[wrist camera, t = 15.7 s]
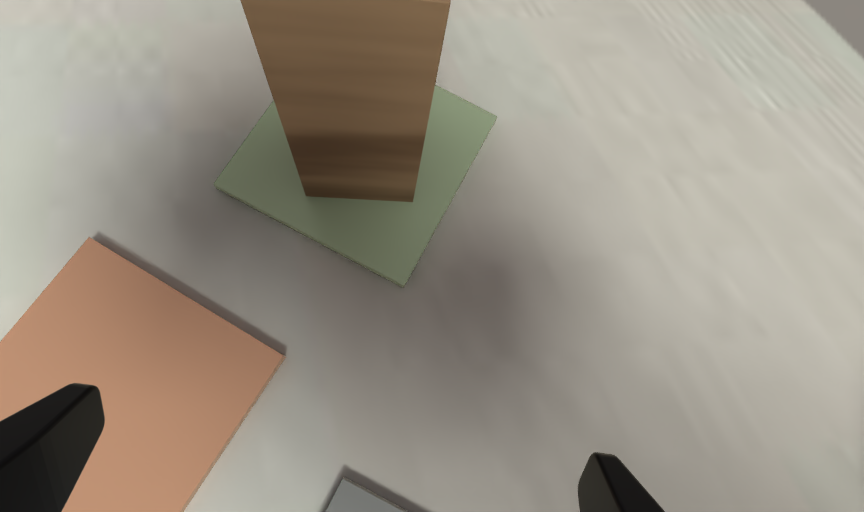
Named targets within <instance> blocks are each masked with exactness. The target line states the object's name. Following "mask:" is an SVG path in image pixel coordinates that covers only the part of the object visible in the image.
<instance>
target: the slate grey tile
mask: <svg viewBox="0 0 864 512" xmlns="http://www.w3.org/2000/svg"><path fill="white" fill-rule="evenodd" d="M326 512H408V511H407V510H405V509H403V508H401V507H399V506H397V505H395V504H394V503H392V502H390V501H388V500H386V499H384V498H382V497H381V496H379V495H377V494H375V493H373V492H371V491H370V490H368V489H366V488H364V487H362V486H360V485H358V484H357V483H355V482H353V481H351V480H349V479H347V478H345V477H343V479H342V481H341V483H340V485H339V487H338V488H337V490H336V492H335V494H334V496H333V498H332V500H331V502H330V504H329V506H328V508H327V510H326Z"/></svg>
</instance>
